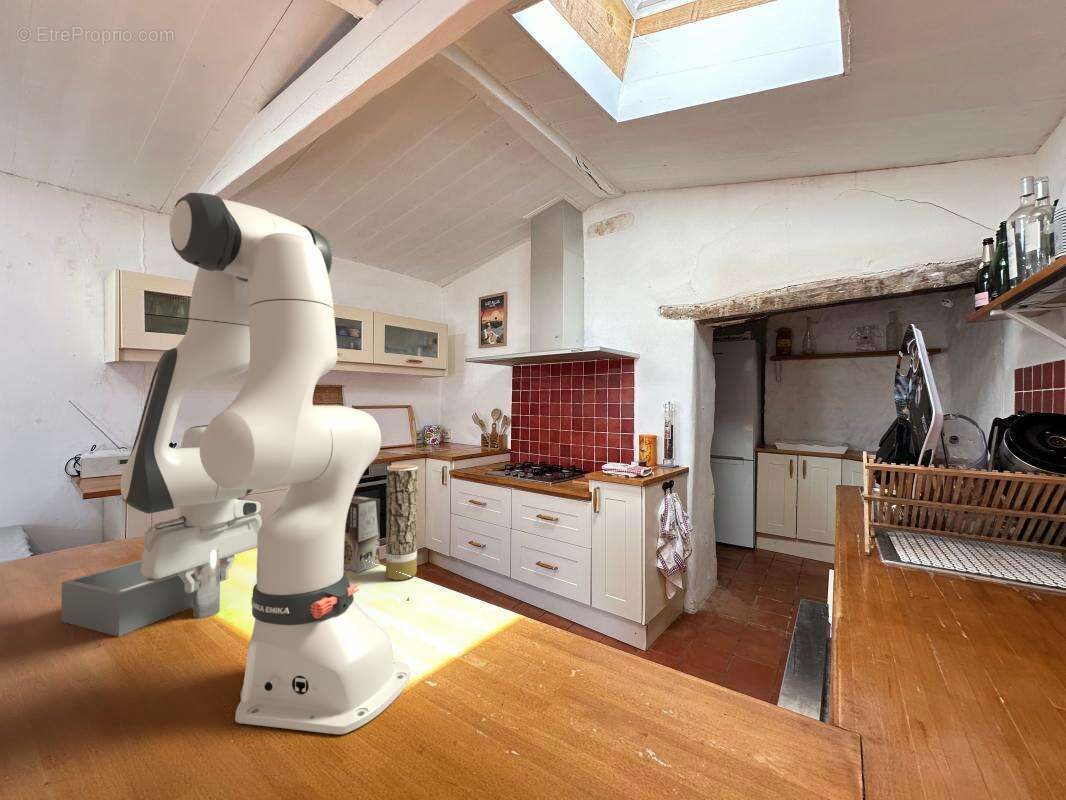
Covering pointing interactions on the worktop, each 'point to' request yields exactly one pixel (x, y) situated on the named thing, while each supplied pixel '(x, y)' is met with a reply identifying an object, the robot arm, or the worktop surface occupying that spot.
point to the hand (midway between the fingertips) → (207, 585)
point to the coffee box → (362, 534)
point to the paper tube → (401, 521)
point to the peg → (207, 587)
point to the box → (122, 599)
